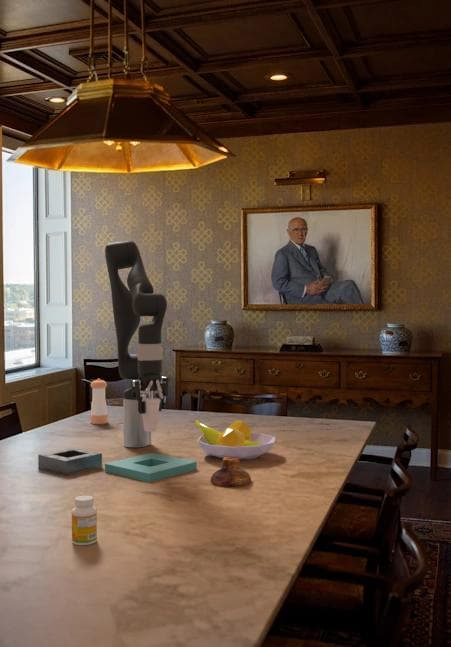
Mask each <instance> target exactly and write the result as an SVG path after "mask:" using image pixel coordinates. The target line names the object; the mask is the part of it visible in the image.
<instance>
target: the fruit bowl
mask: <svg viewBox="0 0 451 647" xmlns="http://www.w3.org/2000/svg"><path fill="white" fill-rule="evenodd" d="M194 423H195V424H196V426H198V429H199V431H200V433H201V435H200V437H199V438H198V439H197V443H198V445H199V446H200V448H201V449H202V451H204V452H205V454H208V455H210V456H214V457H217V458H219V459H222V460H223V458H225V457H230V458H231V459H235V458H237V459H239V461H240V460H241V461H242V460H243V461H244V460H254V459H256V458H257V457H259V456H262V455H264V454H266V453H268V452H270V451H271V450H272V448H273V446H274V443H275V440H276V436H272V435H269V434H266V433H262V432H252V429H251V427H249V425H247V424H246V423H245V422H244V421H241V420H235V421H234V422H232V423H231V424H230V425H229V426H227V427H226V428H225V430H223V431H222V432H220V431H219V430H216V429H213V428H211V427H209V426H207V425H205V424H203V423H200V421H199V420H197V419H196V420H194Z"/></svg>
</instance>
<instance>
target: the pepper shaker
mask: <svg viewBox="0 0 451 647" xmlns="http://www.w3.org/2000/svg"><path fill="white" fill-rule="evenodd" d="M107 386H108V384H107V382H106V381H105V380H104V379H100V378H97V379H96V380H93V381H91V383H90V387H91V390H92V395H91V396H92V399H91V400H92V401H91V404H90V405H91V406H90V409H91V410H90V411H91V413H90V424H91V423H92V425H106V424H108V422H109V419H108V416H109V415H108V413H107V412H108V410H107V409H108V407H107V406H108V404H107V400H106V388H107Z"/></svg>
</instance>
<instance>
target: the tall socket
mask: <svg viewBox="0 0 451 647" xmlns="http://www.w3.org/2000/svg"><path fill="white" fill-rule="evenodd" d="M37 457H38V458H37V459H38V460H37V464H38V466H37V467H38V470H42V471H46V472H50V473H53V474H57V475H60V474H61V475H62V476H65V477H66V476H72V475H75V474H80V473H83V472H87V471H88V472H89V471H93V470H97V468H98V469H101V468H103V453H102V452H97V451H92V450H89V449H84V448H80V447H70V448H65V449H60V450H54V451H49V452H45V453H44V452H43V453H39V454H38V456H37ZM71 474H72V475H71Z"/></svg>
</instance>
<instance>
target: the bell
mask: <svg viewBox="0 0 451 647" xmlns="http://www.w3.org/2000/svg"><path fill="white" fill-rule="evenodd" d="M221 462H222V463H221V464H222V465H221V468H220V469H218V470H216V471H215V472H213V473H212V474H211V477H210V483H211V484H212V485H214V486H217V487H223V488H239V487H240V488H241V487H246V486H248V485H250V484H251V483H252V478H251V475H250V474H249V472H248V471H246V470H244V469H243V468H242V467H240V465H241V463H240V460H239V459H237V458H235V459H231V458H230V457H225V458H223V459H222V461H221Z"/></svg>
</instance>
